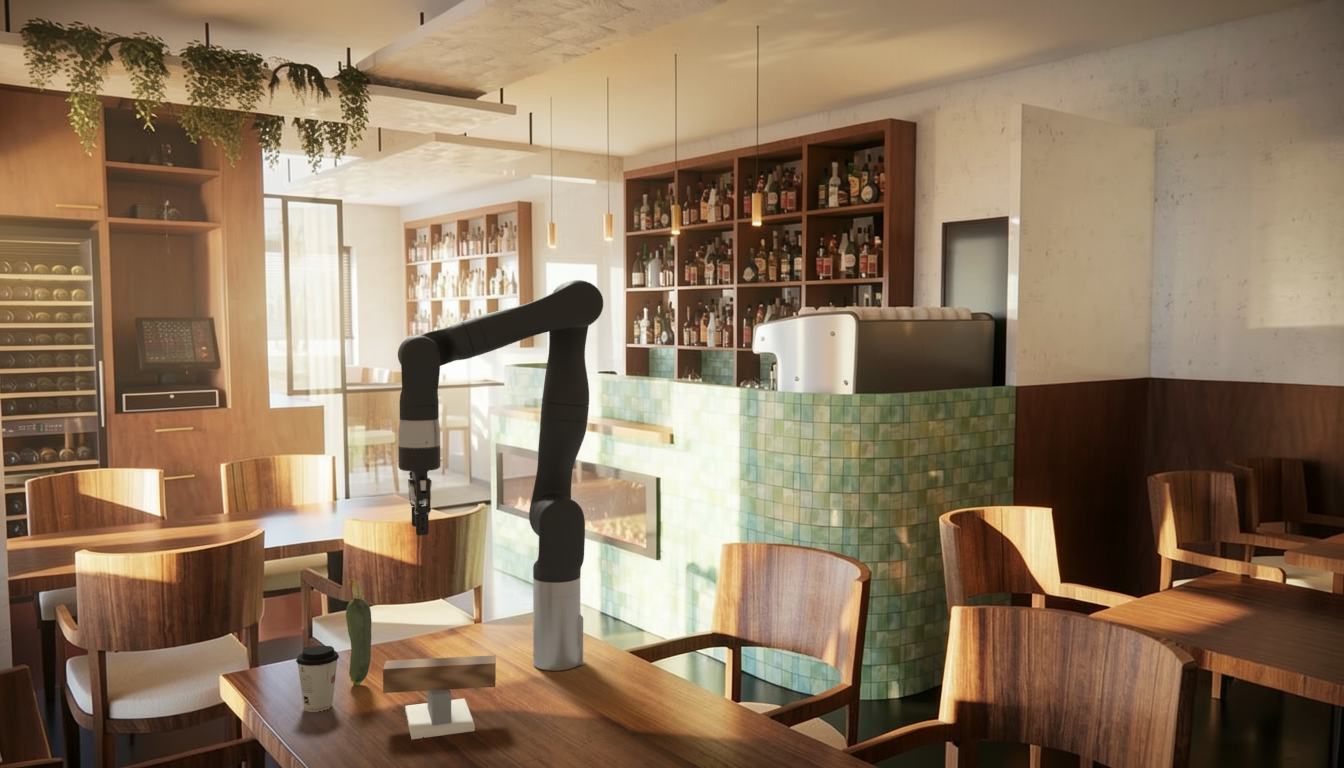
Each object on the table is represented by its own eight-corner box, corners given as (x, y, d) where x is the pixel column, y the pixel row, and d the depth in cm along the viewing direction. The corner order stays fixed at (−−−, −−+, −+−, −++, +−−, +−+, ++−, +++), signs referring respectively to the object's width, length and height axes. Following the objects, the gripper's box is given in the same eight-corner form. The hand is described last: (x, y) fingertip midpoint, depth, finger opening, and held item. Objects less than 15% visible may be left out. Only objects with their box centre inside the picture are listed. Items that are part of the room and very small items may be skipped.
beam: (495, 678, 162) (495, 655, 161) (495, 686, 158) (495, 663, 158) (386, 684, 159) (386, 660, 158) (383, 693, 155) (382, 669, 154)
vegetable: (375, 682, 176) (374, 575, 175) (365, 690, 172) (365, 581, 171) (352, 681, 176) (351, 574, 175) (342, 689, 172) (341, 580, 171)
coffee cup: (298, 717, 159) (298, 659, 159) (294, 703, 166) (293, 647, 165) (342, 710, 163) (341, 653, 162) (336, 696, 169) (335, 641, 168)
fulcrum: (464, 704, 166) (464, 670, 165) (474, 730, 155) (474, 694, 154) (405, 711, 162) (405, 676, 162) (411, 739, 151) (411, 702, 151)
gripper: (444, 447, 170) (445, 536, 171) (435, 439, 184) (436, 522, 184) (401, 448, 168) (402, 539, 168) (395, 440, 181) (396, 524, 182)
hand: (419, 530), depth 176 cm, fingers open, 8 cm apart
